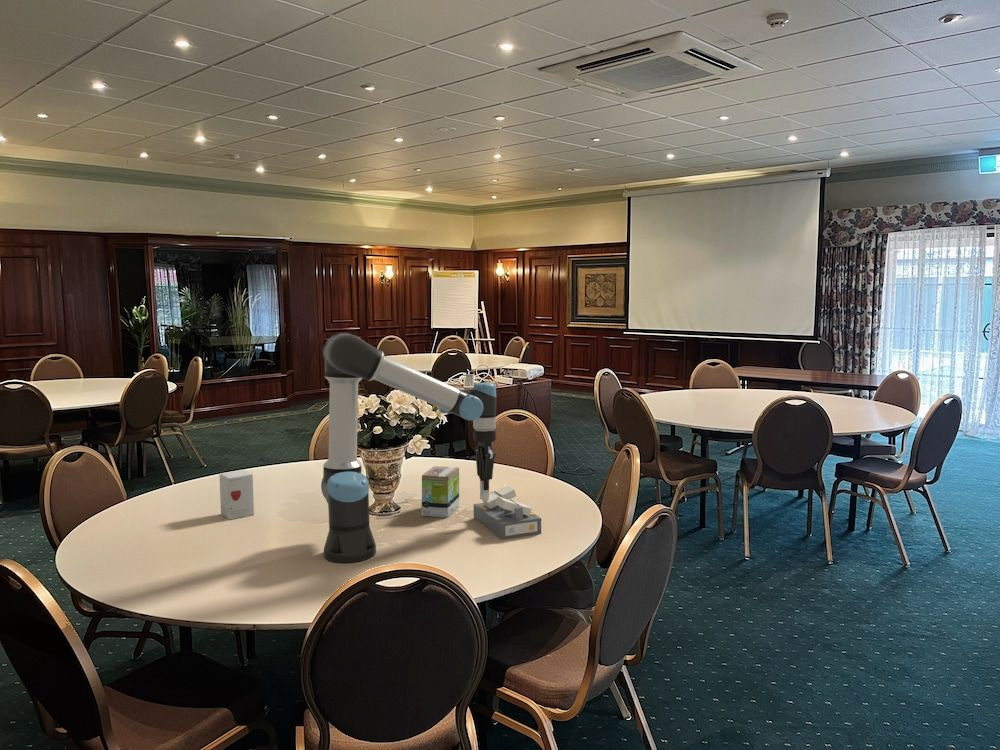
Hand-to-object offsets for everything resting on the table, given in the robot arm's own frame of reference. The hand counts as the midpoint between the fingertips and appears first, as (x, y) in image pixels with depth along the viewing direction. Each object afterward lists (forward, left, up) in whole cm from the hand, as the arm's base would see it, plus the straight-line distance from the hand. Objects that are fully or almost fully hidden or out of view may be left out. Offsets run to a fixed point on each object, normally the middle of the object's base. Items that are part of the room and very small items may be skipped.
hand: (484, 498), depth 233 cm
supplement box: (-76, +45, -9) cm, 89 cm away
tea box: (-9, +19, -9) cm, 23 cm away
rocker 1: (+6, 0, -1) cm, 6 cm away
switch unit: (+5, -6, -8) cm, 11 cm away
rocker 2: (+5, -12, -1) cm, 13 cm away
